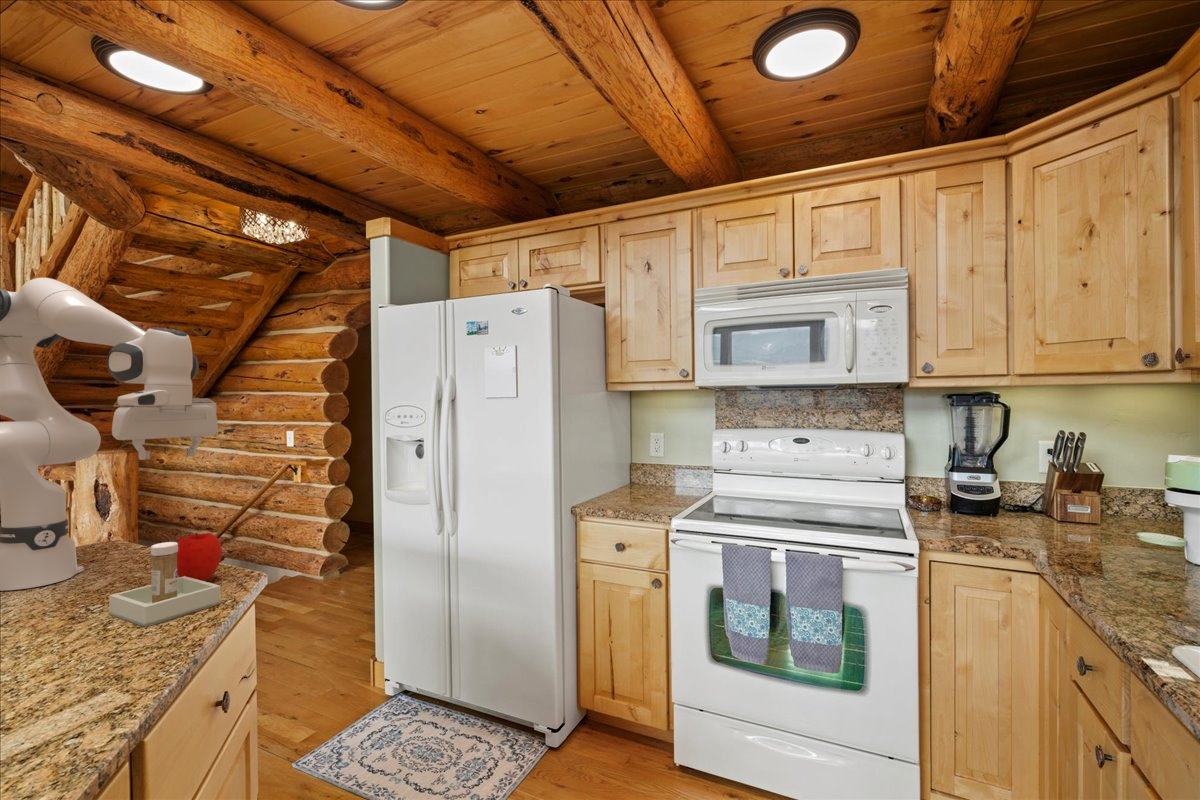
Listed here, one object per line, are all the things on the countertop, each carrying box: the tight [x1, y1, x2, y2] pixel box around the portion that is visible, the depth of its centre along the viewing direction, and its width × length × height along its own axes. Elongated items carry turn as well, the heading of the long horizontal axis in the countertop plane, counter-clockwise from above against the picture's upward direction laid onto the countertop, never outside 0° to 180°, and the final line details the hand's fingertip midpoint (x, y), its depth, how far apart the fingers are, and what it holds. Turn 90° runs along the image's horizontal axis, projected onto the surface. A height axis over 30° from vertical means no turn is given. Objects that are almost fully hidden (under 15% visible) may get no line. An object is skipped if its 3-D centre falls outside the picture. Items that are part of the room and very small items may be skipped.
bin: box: [108, 576, 222, 628], centre depth 118 cm, size 14×14×4 cm
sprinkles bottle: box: [150, 541, 178, 603], centre depth 118 cm, size 5×5×14 cm
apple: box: [176, 532, 223, 582], centre depth 136 cm, size 10×10×12 cm
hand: (168, 457), depth 129 cm, fingers open, 8 cm apart
